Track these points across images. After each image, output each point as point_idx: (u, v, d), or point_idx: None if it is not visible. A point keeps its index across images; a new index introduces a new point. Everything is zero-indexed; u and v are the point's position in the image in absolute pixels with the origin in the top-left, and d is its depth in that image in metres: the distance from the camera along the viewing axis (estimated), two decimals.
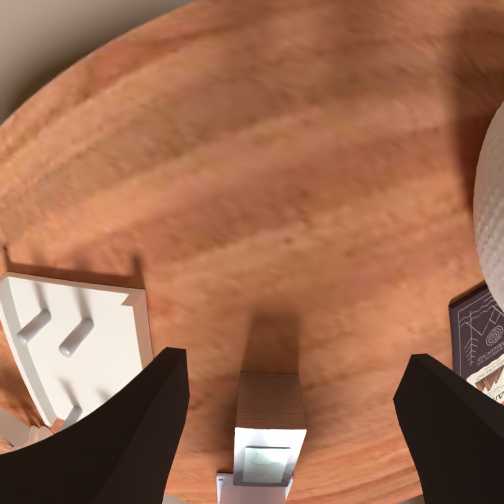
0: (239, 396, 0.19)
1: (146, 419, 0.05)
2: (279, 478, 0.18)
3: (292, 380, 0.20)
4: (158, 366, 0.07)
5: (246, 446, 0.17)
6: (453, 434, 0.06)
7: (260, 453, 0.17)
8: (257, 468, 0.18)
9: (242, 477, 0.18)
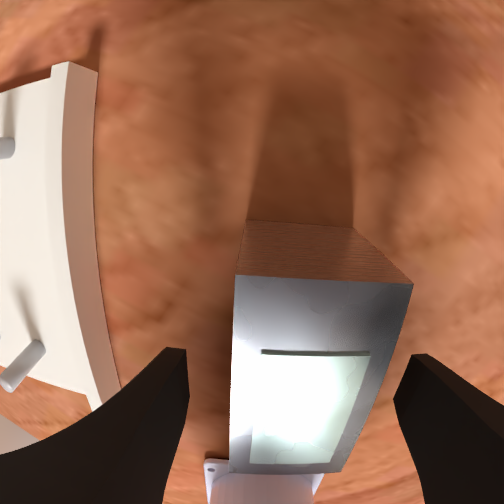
0: (245, 239, 0.09)
1: (146, 419, 0.05)
2: (329, 450, 0.08)
3: (345, 232, 0.11)
4: (158, 366, 0.07)
5: (261, 352, 0.07)
6: (453, 434, 0.06)
7: (297, 375, 0.07)
8: (284, 426, 0.08)
9: (249, 452, 0.09)
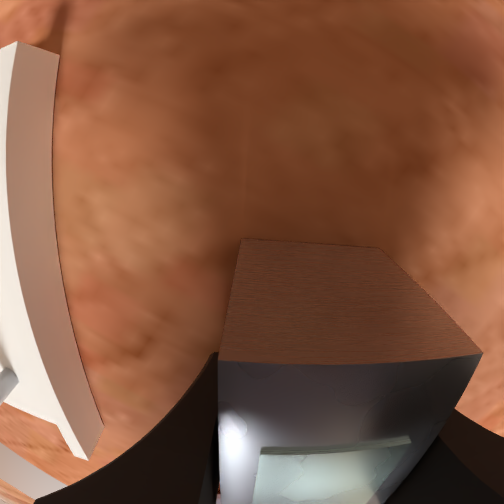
0: (238, 275, 0.06)
1: (215, 429, 0.05)
2: None
3: (373, 256, 0.08)
4: (213, 373, 0.07)
5: (261, 450, 0.04)
6: None
7: (310, 471, 0.05)
8: None
9: None
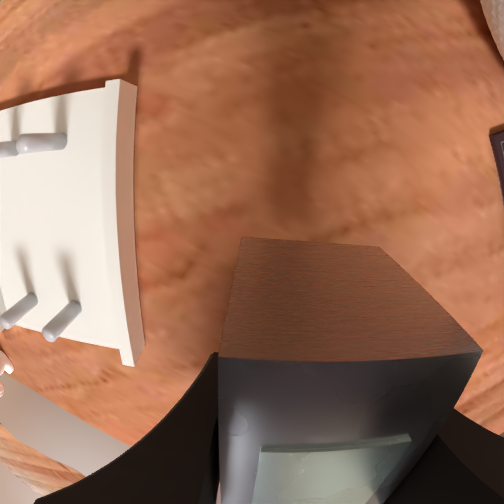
0: (238, 274, 0.06)
1: (215, 429, 0.05)
2: None
3: (373, 255, 0.08)
4: (213, 373, 0.07)
5: (261, 448, 0.04)
6: None
7: (310, 469, 0.05)
8: None
9: None
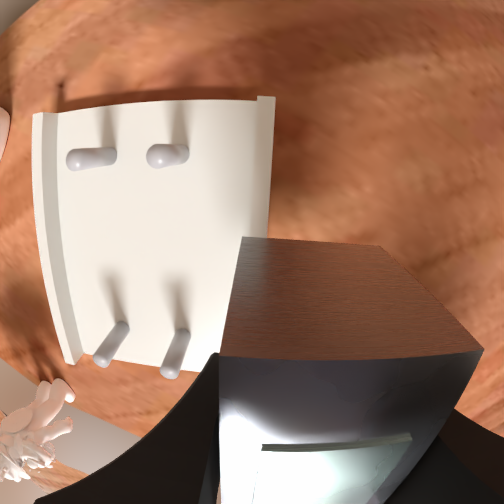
0: (239, 272, 0.06)
1: (215, 429, 0.05)
2: None
3: (374, 254, 0.08)
4: (213, 373, 0.07)
5: (262, 447, 0.04)
6: None
7: (311, 468, 0.05)
8: None
9: None
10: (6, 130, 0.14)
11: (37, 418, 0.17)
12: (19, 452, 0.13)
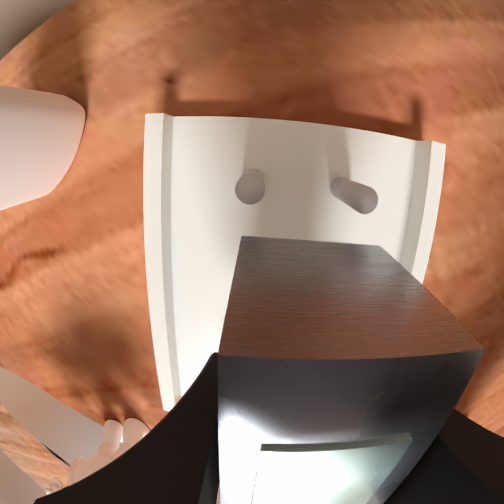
0: (238, 272, 0.06)
1: (215, 429, 0.05)
2: None
3: (373, 254, 0.08)
4: (213, 373, 0.07)
5: (261, 447, 0.04)
6: None
7: (311, 468, 0.05)
8: None
9: None
10: (81, 130, 0.13)
11: None
12: None
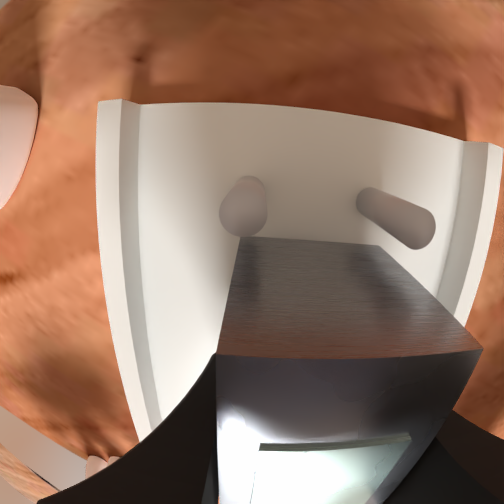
0: (237, 271, 0.06)
1: None
2: None
3: (373, 253, 0.08)
4: (215, 373, 0.07)
5: (259, 446, 0.04)
6: None
7: (310, 468, 0.05)
8: None
9: None
10: (32, 129, 0.09)
11: None
12: None
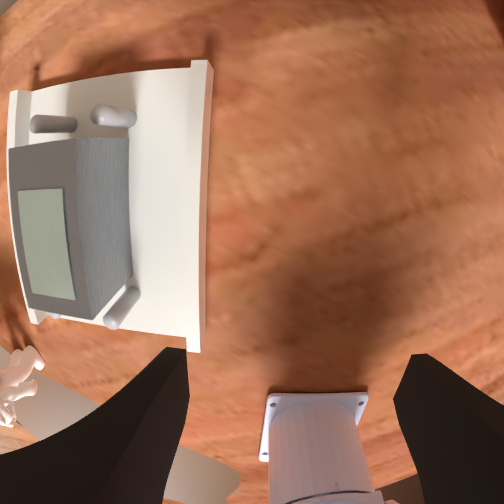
0: None
1: (146, 419, 0.05)
2: (69, 283, 0.12)
3: None
4: (158, 366, 0.07)
5: (19, 190, 0.11)
6: (453, 434, 0.06)
7: (32, 204, 0.11)
8: (38, 252, 0.12)
9: (30, 281, 0.12)
10: None
11: (5, 380, 0.17)
12: None
